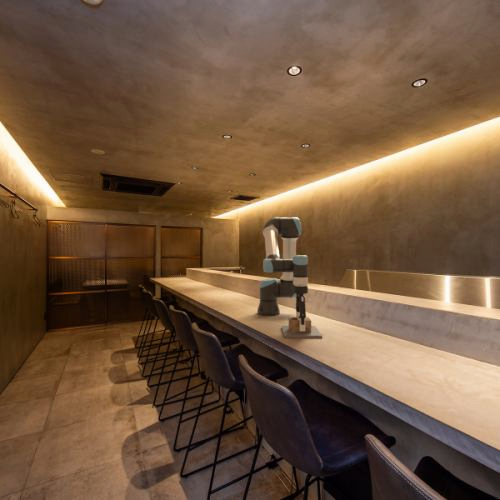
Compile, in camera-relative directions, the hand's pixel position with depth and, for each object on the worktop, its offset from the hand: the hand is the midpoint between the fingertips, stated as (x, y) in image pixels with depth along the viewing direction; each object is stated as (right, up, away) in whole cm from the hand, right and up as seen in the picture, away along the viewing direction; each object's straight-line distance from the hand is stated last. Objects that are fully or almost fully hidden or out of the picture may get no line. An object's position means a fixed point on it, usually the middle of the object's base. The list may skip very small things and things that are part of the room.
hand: (300, 327), depth 148 cm
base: (0, -3, 0) cm, 3 cm away
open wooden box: (0, -1, 0) cm, 1 cm away
